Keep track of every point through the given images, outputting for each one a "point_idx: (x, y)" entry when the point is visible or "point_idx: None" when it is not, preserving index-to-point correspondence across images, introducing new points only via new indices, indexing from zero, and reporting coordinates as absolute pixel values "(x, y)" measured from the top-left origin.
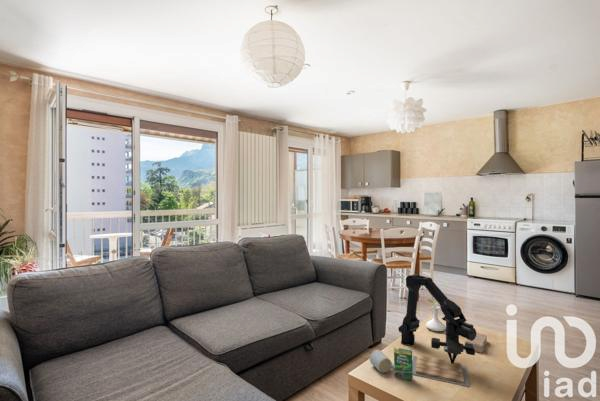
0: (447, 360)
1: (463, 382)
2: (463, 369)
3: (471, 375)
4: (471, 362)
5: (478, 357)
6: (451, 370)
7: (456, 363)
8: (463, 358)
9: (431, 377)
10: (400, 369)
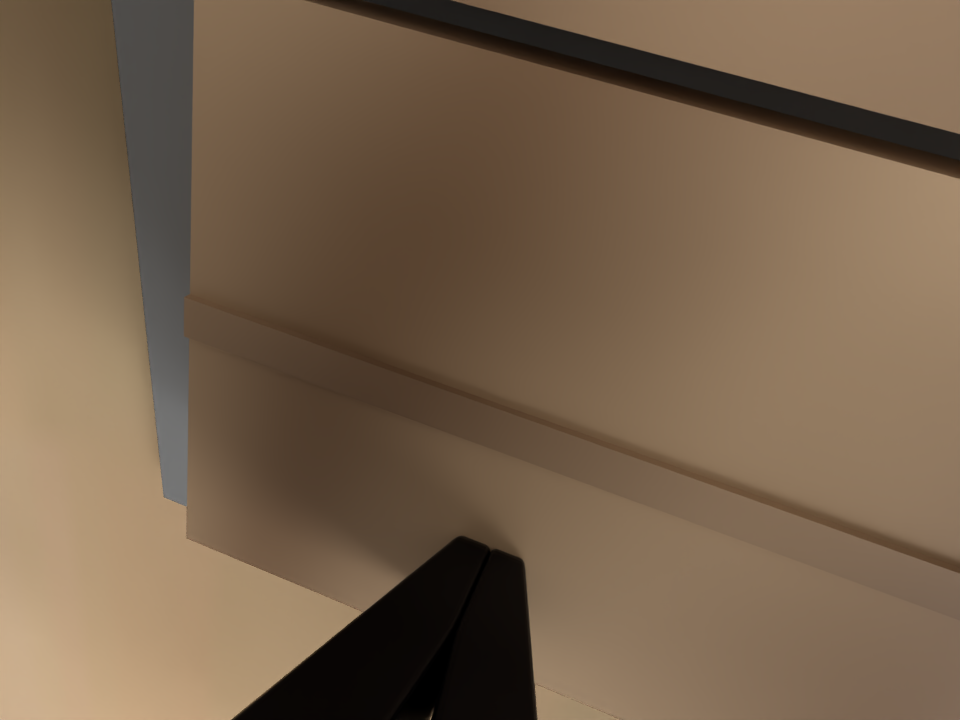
0: (614, 712)
1: None
2: None
3: (25, 51)
4: (81, 590)
5: (3, 681)
6: (712, 65)
7: (339, 538)
8: (213, 707)
9: None
10: None
